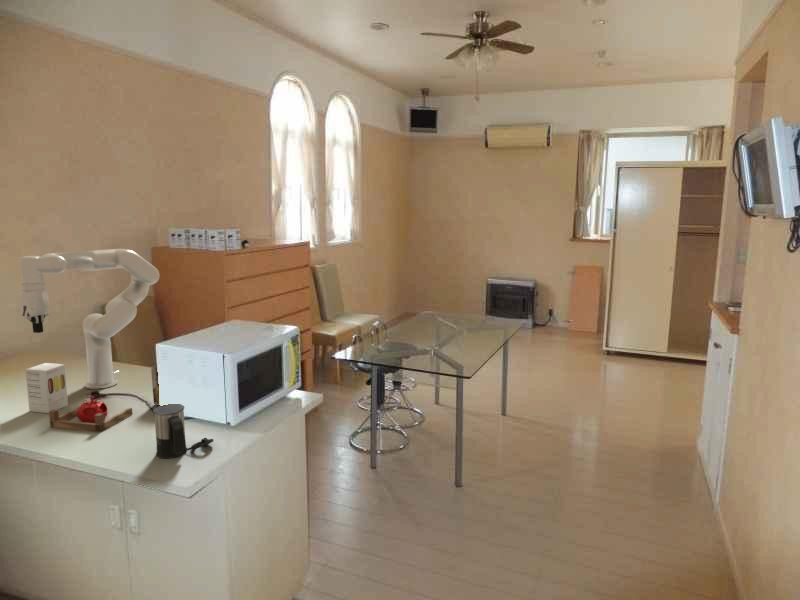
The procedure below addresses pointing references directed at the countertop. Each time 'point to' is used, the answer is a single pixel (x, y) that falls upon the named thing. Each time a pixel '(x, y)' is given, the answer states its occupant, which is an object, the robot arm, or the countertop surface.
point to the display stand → (98, 426)
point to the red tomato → (91, 410)
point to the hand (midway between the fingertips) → (38, 332)
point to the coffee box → (155, 384)
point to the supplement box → (46, 387)
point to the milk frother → (172, 431)
